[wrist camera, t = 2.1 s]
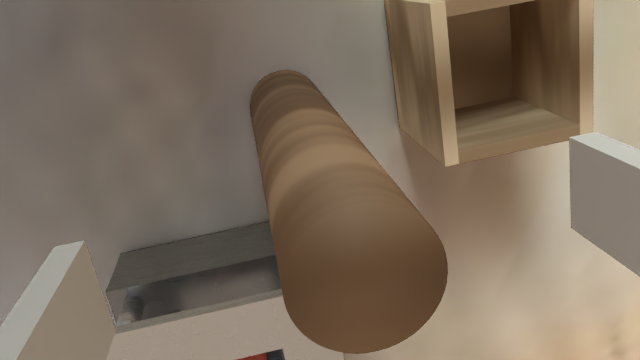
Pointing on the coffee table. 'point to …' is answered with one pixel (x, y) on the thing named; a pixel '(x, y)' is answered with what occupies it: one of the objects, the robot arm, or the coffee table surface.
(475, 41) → the pen cup
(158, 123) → the coffee table surface
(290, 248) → the brown wooden rod
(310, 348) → the grey button box
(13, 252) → the coffee table surface
